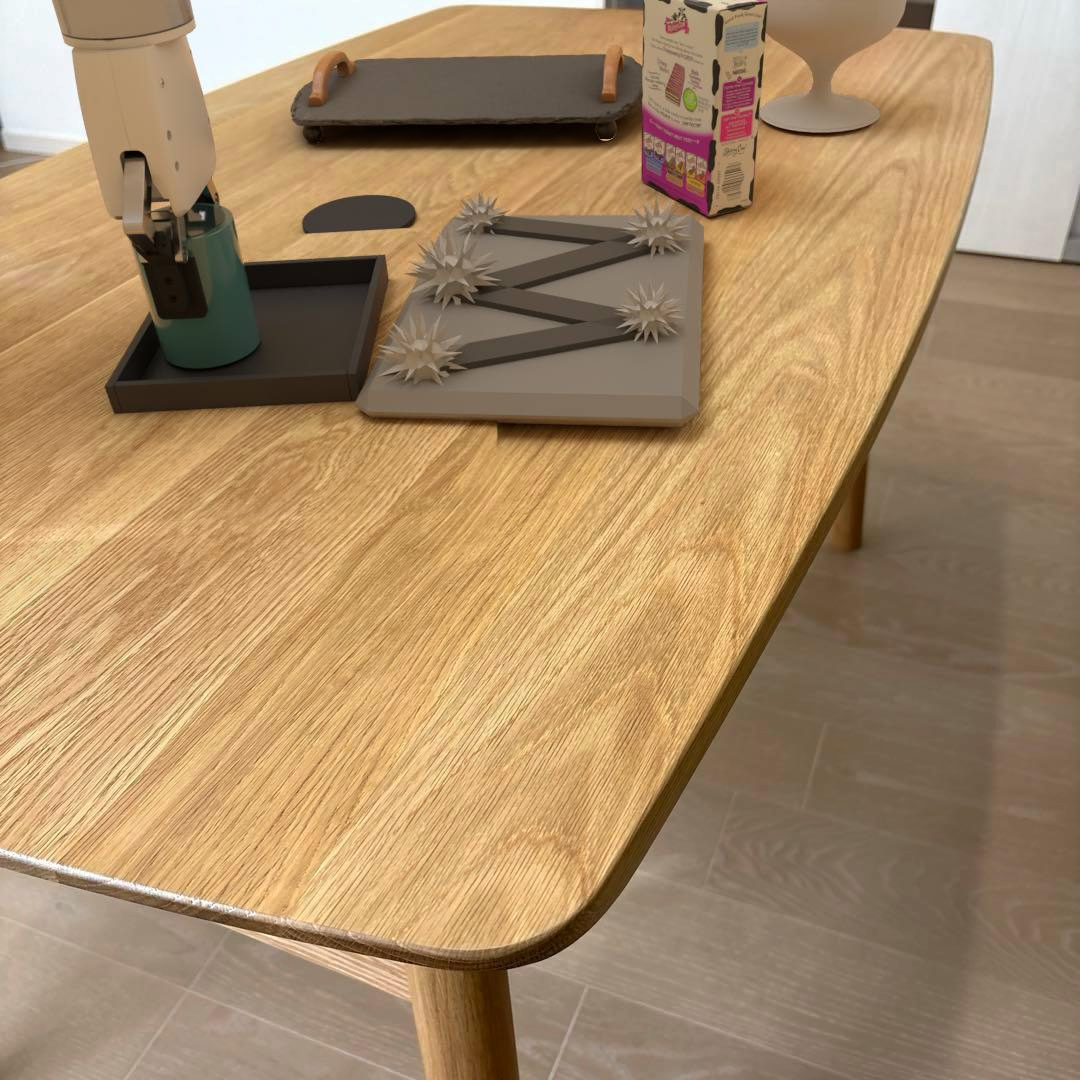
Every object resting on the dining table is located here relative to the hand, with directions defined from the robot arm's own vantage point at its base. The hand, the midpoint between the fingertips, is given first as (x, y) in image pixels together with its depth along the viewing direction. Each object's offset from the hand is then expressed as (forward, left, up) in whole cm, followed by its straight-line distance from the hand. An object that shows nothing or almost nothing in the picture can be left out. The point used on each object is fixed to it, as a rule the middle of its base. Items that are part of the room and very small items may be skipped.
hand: (197, 289), depth 73 cm
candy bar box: (+37, +26, -6) cm, 46 cm away
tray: (+3, +1, -5) cm, 6 cm away
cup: (0, 0, -4) cm, 4 cm away
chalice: (+52, +45, -6) cm, 69 cm away
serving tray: (+16, +53, -6) cm, 56 cm away
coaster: (+7, +24, -5) cm, 26 cm away
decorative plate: (+24, +3, -6) cm, 25 cm away
